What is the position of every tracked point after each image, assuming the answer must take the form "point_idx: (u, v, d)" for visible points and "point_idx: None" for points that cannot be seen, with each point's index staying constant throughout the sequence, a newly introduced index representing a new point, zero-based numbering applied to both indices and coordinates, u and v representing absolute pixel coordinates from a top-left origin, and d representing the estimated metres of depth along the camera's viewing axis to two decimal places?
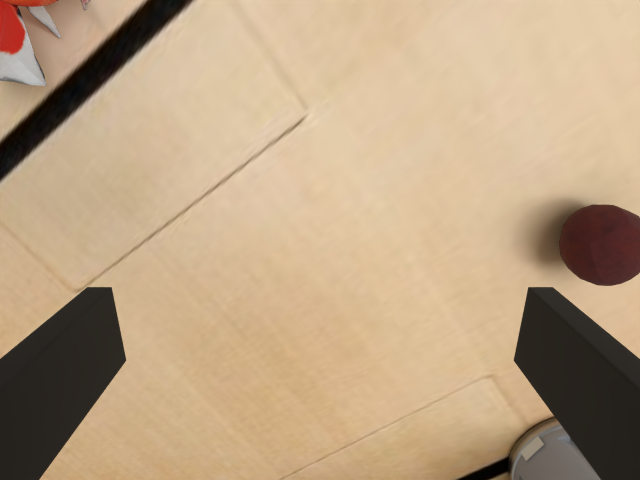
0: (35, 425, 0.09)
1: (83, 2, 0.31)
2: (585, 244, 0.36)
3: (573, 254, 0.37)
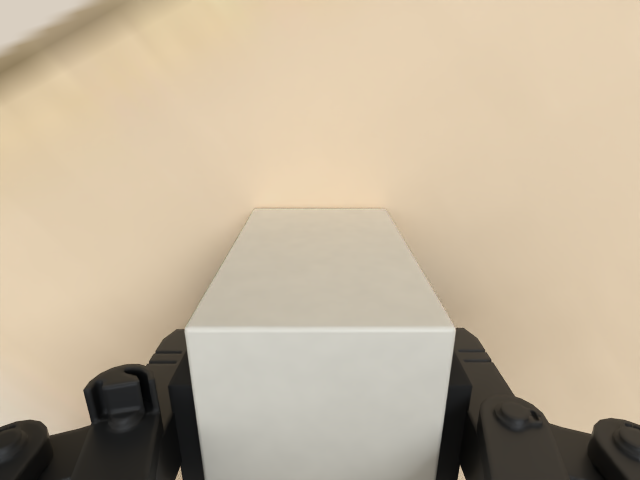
0: None
1: None
2: None
3: None
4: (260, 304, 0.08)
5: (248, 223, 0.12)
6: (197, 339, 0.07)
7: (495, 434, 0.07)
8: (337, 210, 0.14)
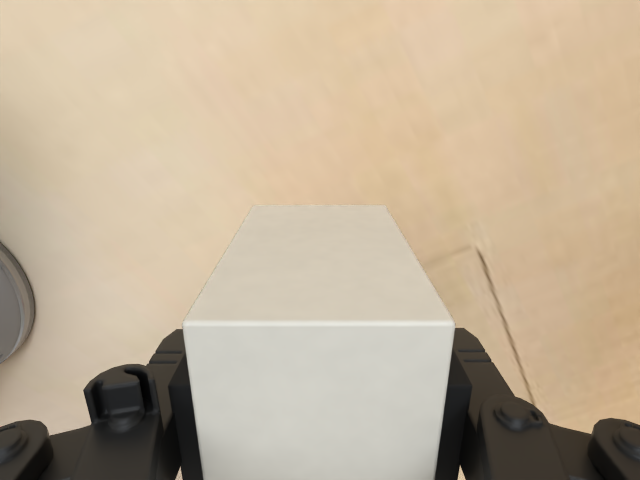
0: None
1: None
2: None
3: None
4: (258, 299, 0.08)
5: (247, 219, 0.12)
6: (194, 334, 0.07)
7: (495, 434, 0.07)
8: (336, 207, 0.14)
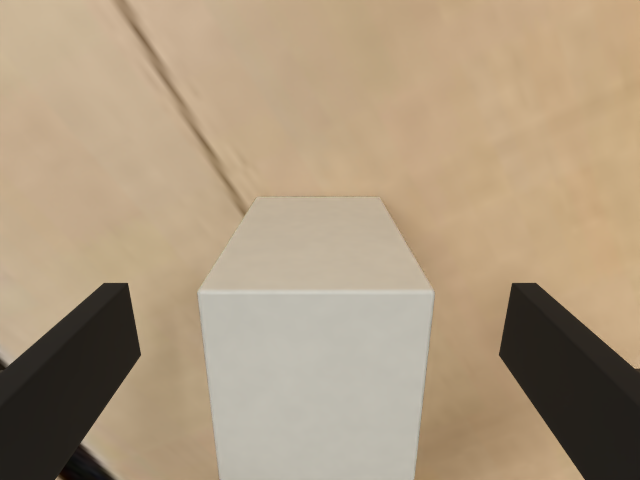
0: (60, 416, 0.09)
1: None
2: None
3: None
4: (263, 273, 0.09)
5: (251, 209, 0.13)
6: (208, 301, 0.08)
7: None
8: (334, 198, 0.15)
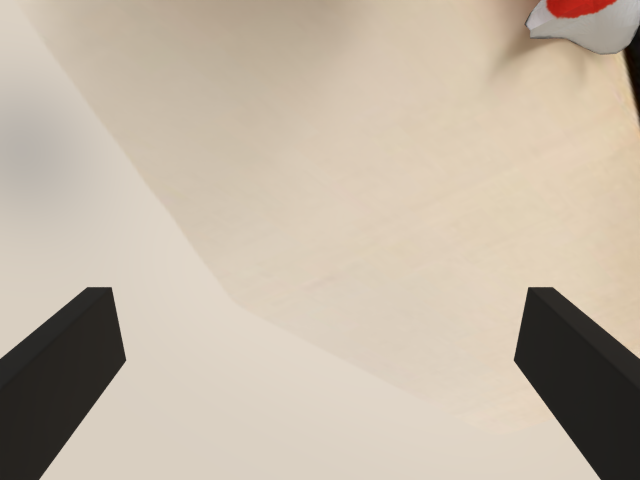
0: (35, 425, 0.09)
1: None
2: None
3: None
4: None
5: None
6: None
7: None
8: None
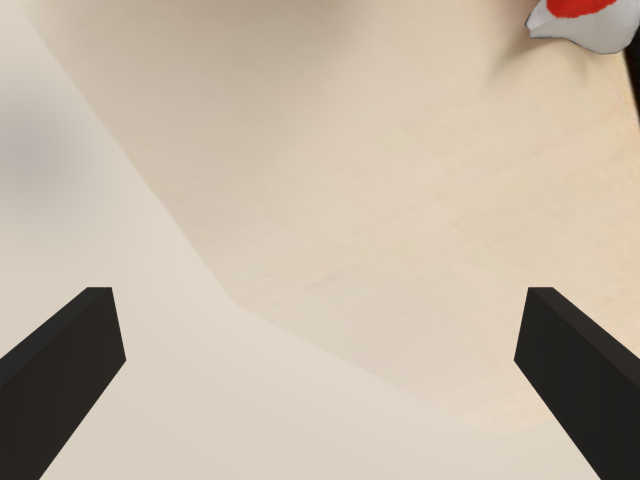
0: (35, 425, 0.09)
1: None
2: None
3: None
4: None
5: None
6: None
7: None
8: None
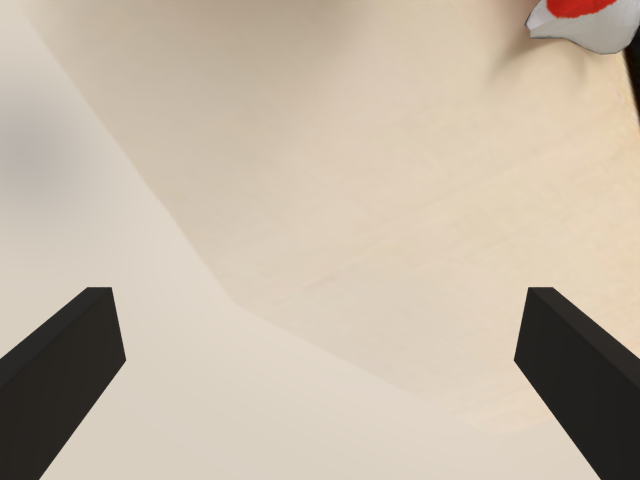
0: (35, 425, 0.09)
1: None
2: None
3: None
4: None
5: None
6: None
7: None
8: None
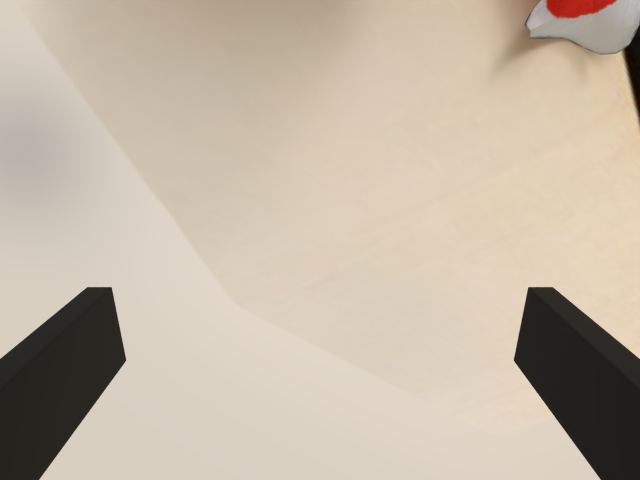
0: (35, 425, 0.09)
1: None
2: None
3: None
4: None
5: None
6: None
7: None
8: None
